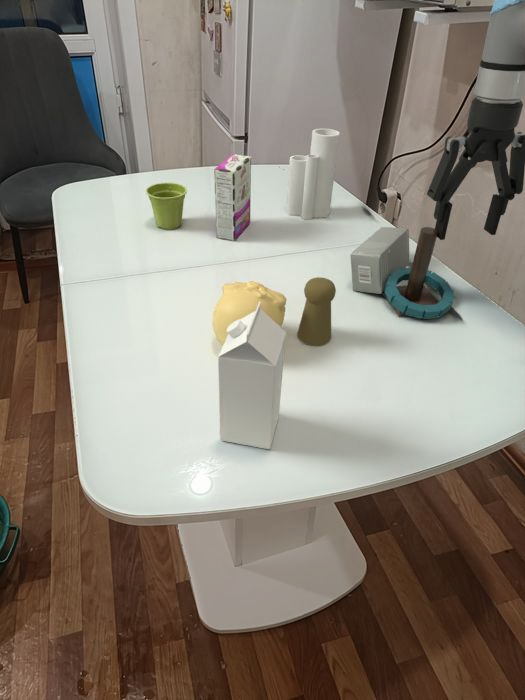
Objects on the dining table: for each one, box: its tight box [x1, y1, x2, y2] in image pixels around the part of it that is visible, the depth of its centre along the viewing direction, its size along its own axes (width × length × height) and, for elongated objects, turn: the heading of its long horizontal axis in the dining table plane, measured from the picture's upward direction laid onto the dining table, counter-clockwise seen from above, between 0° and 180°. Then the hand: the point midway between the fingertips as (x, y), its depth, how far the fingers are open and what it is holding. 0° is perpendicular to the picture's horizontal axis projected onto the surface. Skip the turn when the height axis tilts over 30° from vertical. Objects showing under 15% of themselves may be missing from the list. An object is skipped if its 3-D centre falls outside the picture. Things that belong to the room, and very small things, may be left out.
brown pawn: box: [296, 276, 337, 347], centre depth 87 cm, size 6×6×11 cm
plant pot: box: [145, 182, 188, 231], centre depth 121 cm, size 9×9×9 cm
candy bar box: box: [213, 153, 252, 242], centre depth 118 cm, size 11×5×16 cm, turn 162°
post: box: [381, 226, 439, 318], centre depth 96 cm, size 9×9×15 cm
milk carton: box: [217, 302, 287, 450], centre depth 67 cm, size 7×7×19 cm
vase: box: [285, 127, 340, 221], centre depth 126 cm, size 11×7×20 cm, turn 106°
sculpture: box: [211, 280, 287, 346], centre depth 85 cm, size 11×12×11 cm
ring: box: [384, 266, 455, 320], centre depth 98 cm, size 13×13×2 cm
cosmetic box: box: [349, 226, 410, 295], centre depth 105 cm, size 8×7×16 cm
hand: (464, 234), depth 92 cm, fingers open, 9 cm apart
